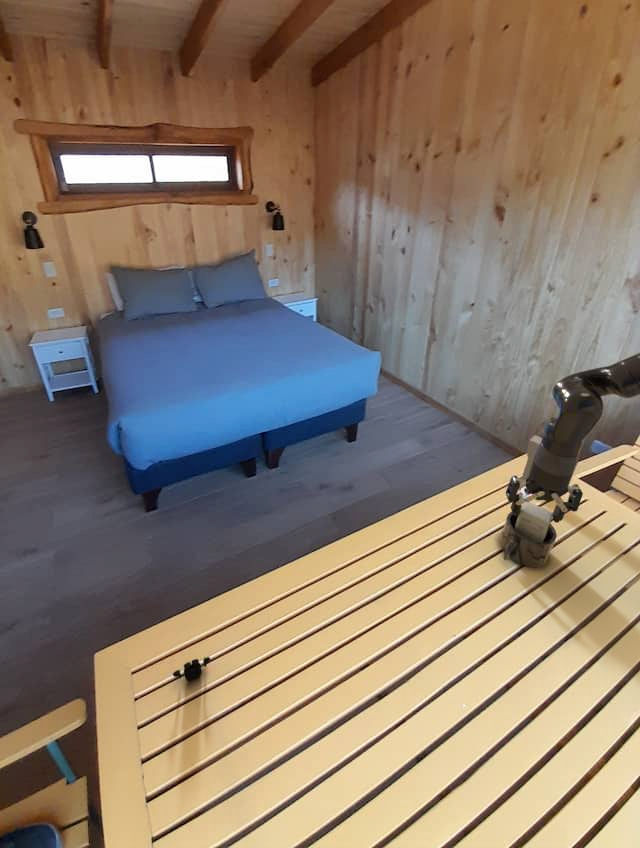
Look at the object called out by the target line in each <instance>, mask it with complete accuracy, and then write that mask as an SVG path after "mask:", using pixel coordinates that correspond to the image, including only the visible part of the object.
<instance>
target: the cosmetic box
mask: <svg viewBox="0 0 640 848" xmlns="http://www.w3.org/2000/svg"><path fill="white" fill-rule="evenodd" d="M521 505H522V506H521V509H520V512H519V515H518V519H517V522H516V526H515V530H516V532H517V533H519V534H520V535H522V536H523V537H525V538H527V539H529V540H532V541H536V542H544V539H545V536H546V533H547V530H548V527H549V524H550V523H551V521H552V519H553V518H552V515H553V512H554V511H551V510H549V509H546V508H545V507H543V506H542V507H541V506H539V505H537V504H535V503H531V502H525V503H523V504H521Z"/></svg>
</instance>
